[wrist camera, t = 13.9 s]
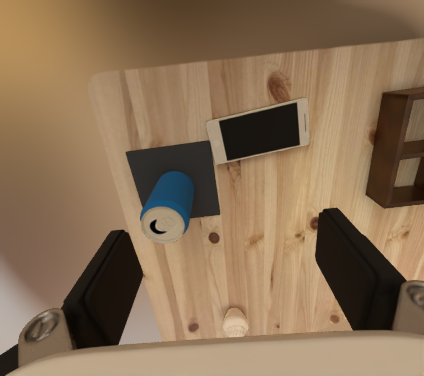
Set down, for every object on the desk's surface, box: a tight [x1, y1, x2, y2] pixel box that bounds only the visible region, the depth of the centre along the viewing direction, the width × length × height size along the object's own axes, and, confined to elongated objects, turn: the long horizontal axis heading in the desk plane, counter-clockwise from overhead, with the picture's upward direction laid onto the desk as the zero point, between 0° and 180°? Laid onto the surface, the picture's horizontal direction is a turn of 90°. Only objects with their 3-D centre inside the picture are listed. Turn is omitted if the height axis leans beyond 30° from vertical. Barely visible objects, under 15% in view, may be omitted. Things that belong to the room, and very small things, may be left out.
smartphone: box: [206, 98, 310, 164], centre depth 36 cm, size 7×16×1 cm, turn 103°
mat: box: [126, 141, 220, 218], centre depth 40 cm, size 14×14×1 cm
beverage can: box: [140, 171, 194, 244], centre depth 34 cm, size 6×6×12 cm
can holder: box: [366, 87, 424, 209], centre depth 35 cm, size 17×9×5 cm, turn 8°
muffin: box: [222, 308, 249, 338], centre depth 52 cm, size 6×6×7 cm
